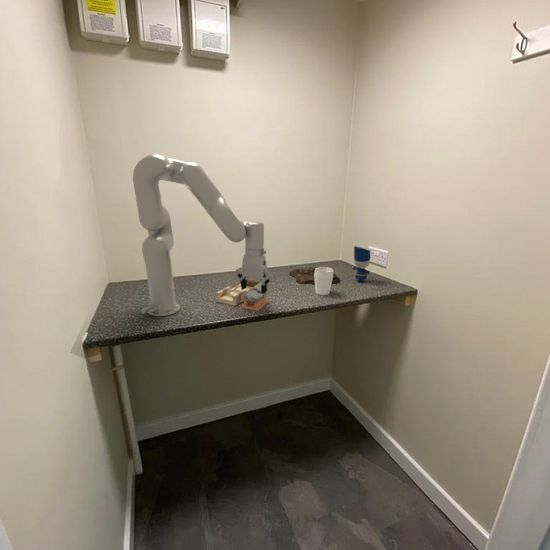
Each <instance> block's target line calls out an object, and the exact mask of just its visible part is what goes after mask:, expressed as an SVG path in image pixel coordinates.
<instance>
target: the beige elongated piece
mask: <svg viewBox="0 0 550 550" xmlns="http://www.w3.org/2000/svg"><path fill="white" fill-rule="evenodd" d="M245 279H246V280H247V287H246V288H245V289H243V290H242V289H241V281H240V280H239V284H238V285H236V286H235V287H232V288H231V286H227V287H224V288H222V289H220V290H219V291H216V300H215V301H216V303H219V304H225V305H228V306H233V307H236V306H238V305H239V304H241V303H242V302H243V303H244V301H245V298H244V293H245V292H246V291H248V290H249V289H251V288H252V287H254V286H256V285H257V284H260V282H259V281H260V280H255V279H249V278H245Z"/></svg>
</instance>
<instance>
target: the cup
mask: <svg viewBox="0 0 550 550" xmlns="http://www.w3.org/2000/svg"><path fill="white" fill-rule="evenodd" d="M316 267H317V268H315V273H314V278H315V285H314V288H315V293H316V294H317V295H320V296H327V295H330V292H331V287H332V285H331V284H332V280H333V273H334V269H333V268H331V267H329V266H327V267H326V266H316Z"/></svg>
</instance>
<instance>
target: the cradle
mask: <svg viewBox="0 0 550 550" xmlns="http://www.w3.org/2000/svg"><path fill="white" fill-rule="evenodd" d="M269 301H270V300H268V299H267V296H266V295H265V296H264V297H262V298H261V299H259V300H258V301H257V302H255V303H254V304H249V303H247V302H246V300H244V301H243V304H241V308H243V309H247V310H251V311H255V312H259V311H260V310H261V309H263V308H264V307H265V306H266V305H267V304H269Z"/></svg>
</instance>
